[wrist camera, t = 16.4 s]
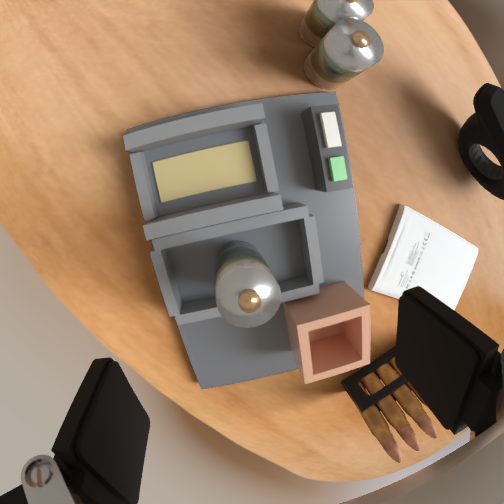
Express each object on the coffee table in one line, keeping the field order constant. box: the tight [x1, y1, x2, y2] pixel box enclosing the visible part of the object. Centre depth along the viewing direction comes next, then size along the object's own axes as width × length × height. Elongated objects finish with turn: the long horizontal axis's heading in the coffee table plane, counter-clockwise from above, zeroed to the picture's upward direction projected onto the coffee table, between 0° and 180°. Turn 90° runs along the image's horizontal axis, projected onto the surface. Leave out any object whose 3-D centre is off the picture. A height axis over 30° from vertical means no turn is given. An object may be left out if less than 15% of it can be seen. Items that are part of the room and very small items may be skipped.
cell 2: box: [299, 0, 374, 48], centre depth 16 cm, size 4×4×7 cm
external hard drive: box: [368, 204, 479, 310], centre depth 26 cm, size 2×8×12 cm
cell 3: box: [304, 18, 384, 89], centre depth 17 cm, size 4×4×7 cm
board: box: [123, 92, 364, 389], centre depth 22 cm, size 23×16×4 cm
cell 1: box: [215, 241, 281, 328], centre depth 19 cm, size 4×4×7 cm
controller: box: [459, 83, 504, 200], centre depth 18 cm, size 4×12×10 cm, turn 43°
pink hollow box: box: [283, 281, 370, 384], centre depth 22 cm, size 5×5×5 cm
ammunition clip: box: [341, 346, 437, 463], centre depth 23 cm, size 11×2×12 cm, turn 121°
